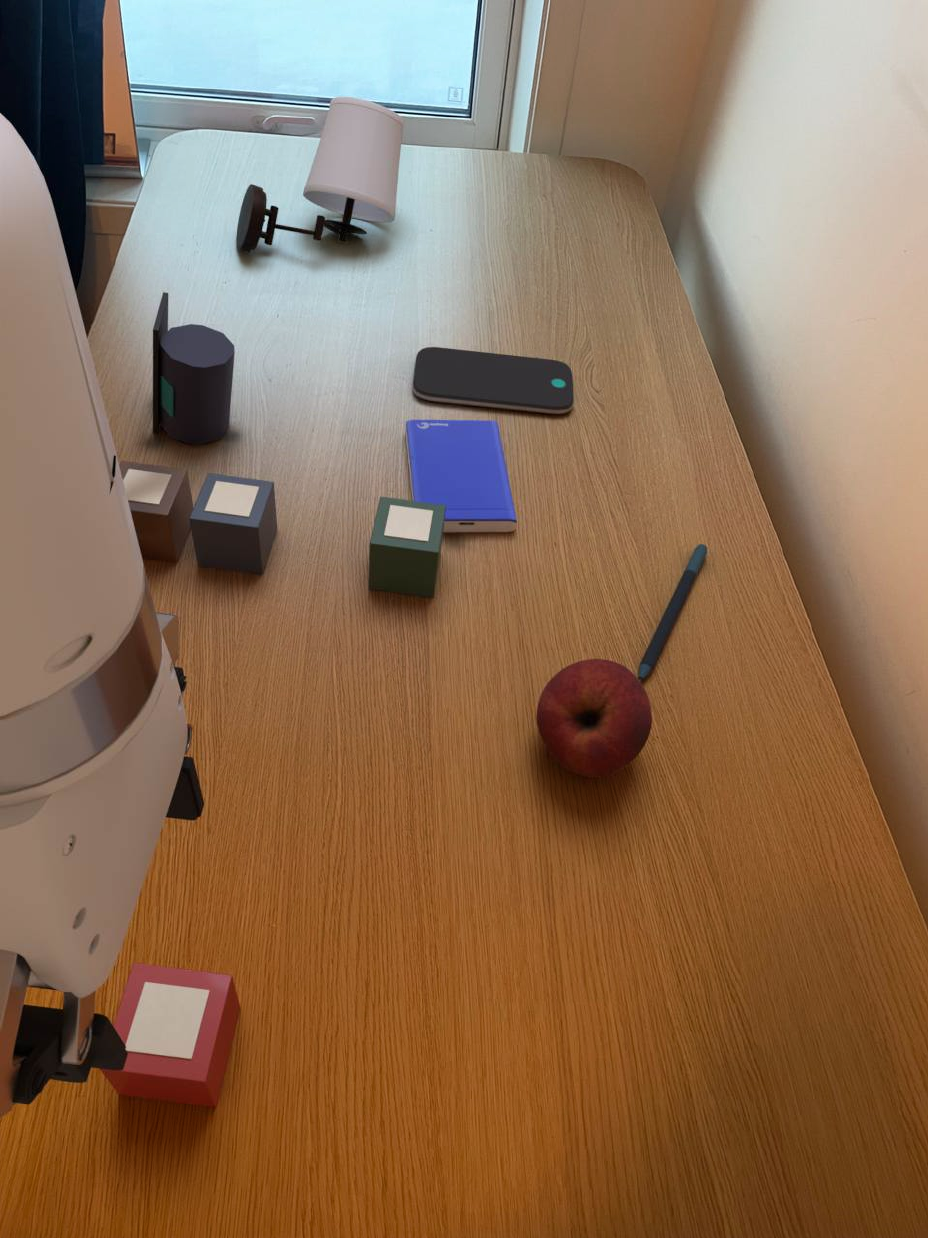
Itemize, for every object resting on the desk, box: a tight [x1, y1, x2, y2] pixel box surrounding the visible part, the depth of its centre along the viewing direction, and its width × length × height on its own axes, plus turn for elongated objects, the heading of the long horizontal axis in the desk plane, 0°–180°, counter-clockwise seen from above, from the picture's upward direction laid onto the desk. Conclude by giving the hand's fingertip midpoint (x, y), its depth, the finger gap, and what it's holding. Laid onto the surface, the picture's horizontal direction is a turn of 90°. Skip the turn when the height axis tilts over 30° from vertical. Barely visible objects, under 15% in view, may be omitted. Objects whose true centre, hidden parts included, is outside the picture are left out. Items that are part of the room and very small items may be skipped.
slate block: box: [189, 472, 278, 575], centre depth 70 cm, size 5×5×5 cm
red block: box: [99, 962, 241, 1108], centre depth 47 cm, size 5×5×5 cm
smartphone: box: [412, 346, 575, 415], centre depth 88 cm, size 8×1×15 cm
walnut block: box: [119, 460, 194, 564], centre depth 70 cm, size 5×5×5 cm
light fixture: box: [235, 96, 405, 253], centre depth 100 cm, size 10×16×17 cm
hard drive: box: [404, 419, 518, 533], centre depth 79 cm, size 2×8×12 cm
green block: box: [368, 496, 446, 599], centre depth 70 cm, size 5×5×5 cm
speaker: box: [152, 291, 236, 445], centre depth 77 cm, size 8×6×10 cm
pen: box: [637, 543, 708, 682], centre depth 72 cm, size 1×16×1 cm, turn 153°
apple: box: [536, 658, 653, 778], centre depth 61 cm, size 7×8×8 cm
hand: (127, 922), depth 36 cm, fingers open, 9 cm apart
